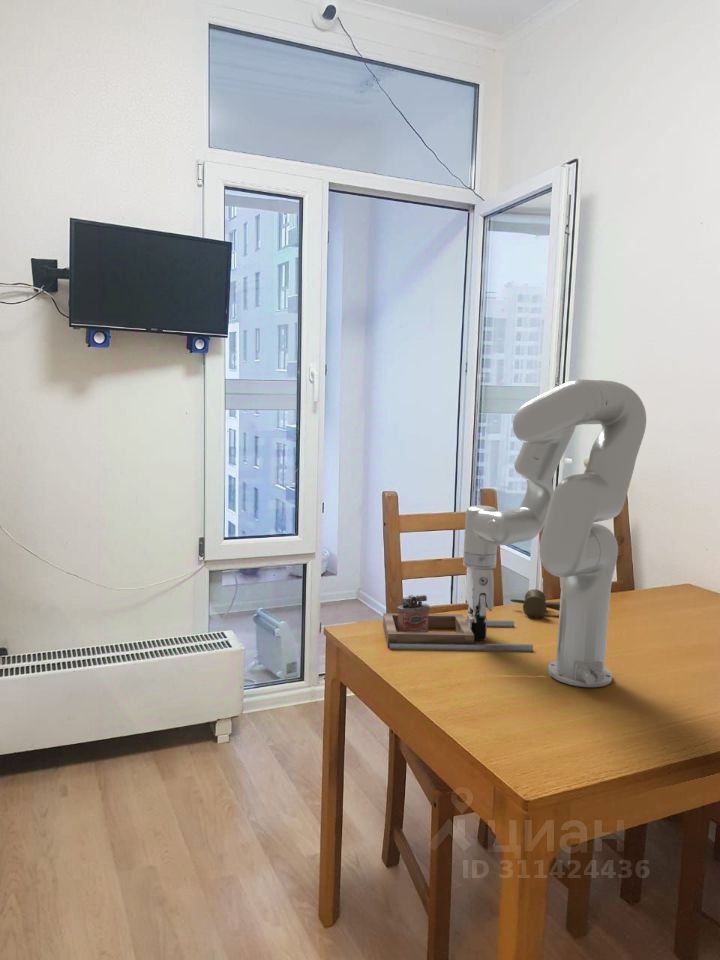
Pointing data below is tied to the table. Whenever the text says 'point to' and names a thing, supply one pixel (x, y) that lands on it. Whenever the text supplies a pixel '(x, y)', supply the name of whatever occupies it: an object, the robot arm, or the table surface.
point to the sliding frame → (434, 621)
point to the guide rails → (467, 646)
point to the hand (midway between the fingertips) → (475, 634)
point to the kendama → (536, 604)
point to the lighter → (413, 614)
